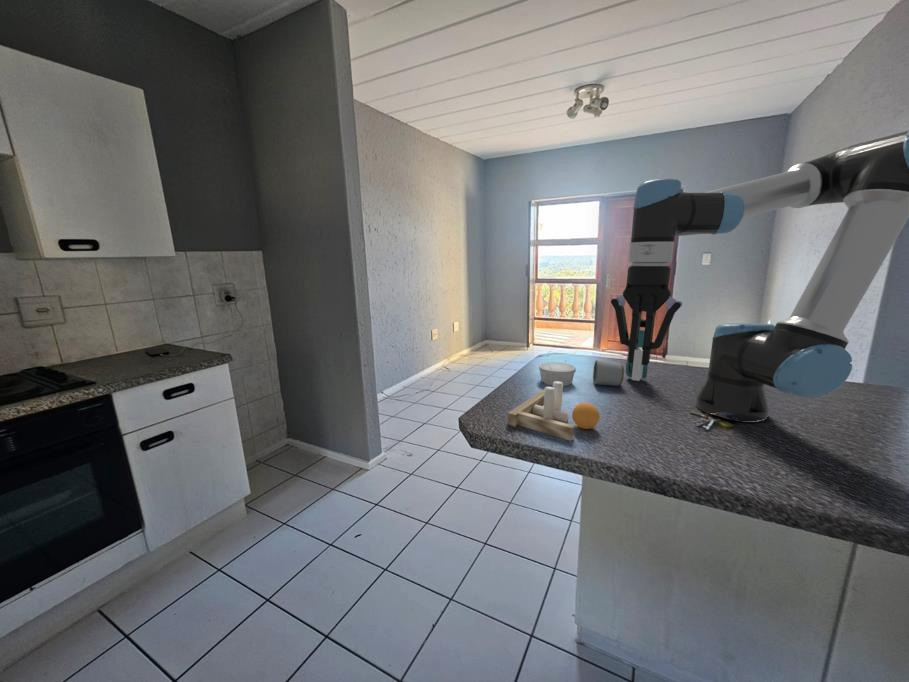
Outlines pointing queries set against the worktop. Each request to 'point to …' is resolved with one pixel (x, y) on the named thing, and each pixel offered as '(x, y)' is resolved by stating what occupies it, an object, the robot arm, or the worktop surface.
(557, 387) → the pin
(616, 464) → the worktop surface
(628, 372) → the beverage bottle
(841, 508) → the worktop surface
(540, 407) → the front pin
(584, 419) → the ball
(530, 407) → the triangular peg stand
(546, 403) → the pin
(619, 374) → the ceramic mug
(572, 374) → the ramekin
